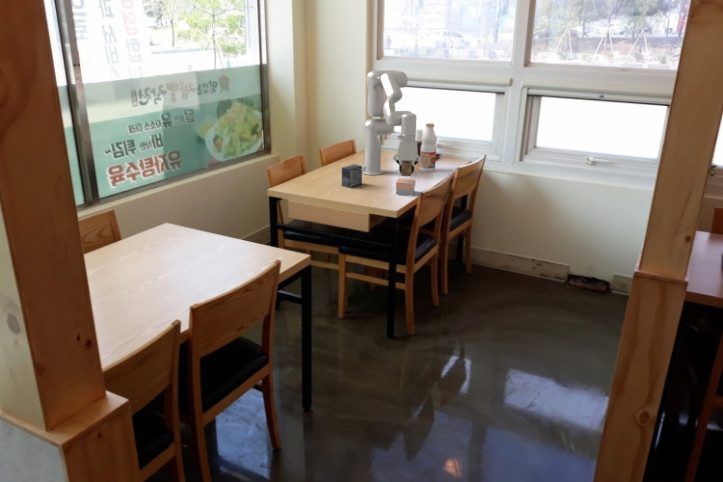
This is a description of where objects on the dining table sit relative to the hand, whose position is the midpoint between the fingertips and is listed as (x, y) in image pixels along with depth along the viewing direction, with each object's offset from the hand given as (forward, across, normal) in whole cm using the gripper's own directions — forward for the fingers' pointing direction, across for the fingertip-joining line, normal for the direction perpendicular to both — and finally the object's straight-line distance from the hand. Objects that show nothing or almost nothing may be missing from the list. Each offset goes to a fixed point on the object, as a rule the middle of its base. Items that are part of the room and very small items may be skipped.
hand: (406, 172), depth 308 cm
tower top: (+8, 0, 0) cm, 8 cm away
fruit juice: (+11, +10, +53) cm, 55 cm away
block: (+1, 0, 0) cm, 1 cm away
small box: (+11, -30, +10) cm, 34 cm away
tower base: (+12, 0, 0) cm, 12 cm away
